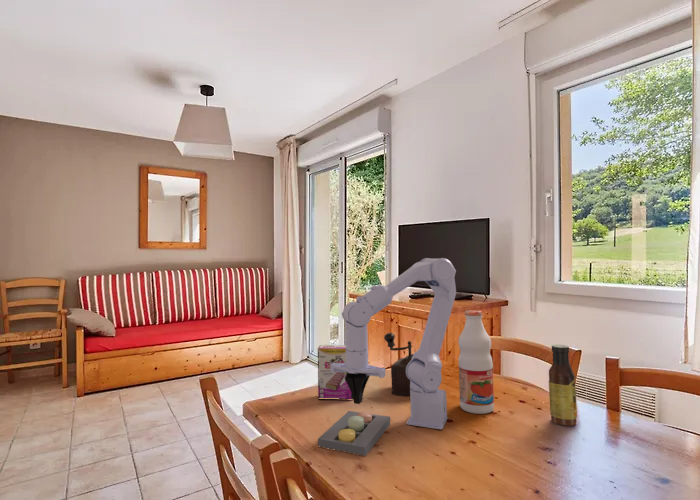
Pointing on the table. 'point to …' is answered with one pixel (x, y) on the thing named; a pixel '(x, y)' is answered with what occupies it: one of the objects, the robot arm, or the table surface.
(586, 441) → the table surface
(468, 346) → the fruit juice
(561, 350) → the sauce bottle
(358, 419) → the sage button
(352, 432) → the mustard button
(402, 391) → the dark brown coffee grinder
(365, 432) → the panel
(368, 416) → the terracotta button
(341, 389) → the candy bar box
